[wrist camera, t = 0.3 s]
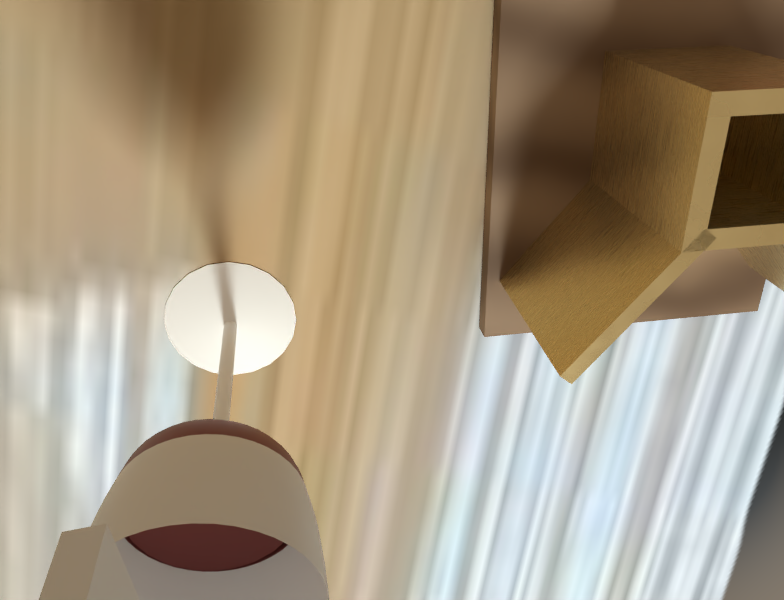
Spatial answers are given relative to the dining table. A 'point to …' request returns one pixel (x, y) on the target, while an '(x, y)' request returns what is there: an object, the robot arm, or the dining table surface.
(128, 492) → the wineglass
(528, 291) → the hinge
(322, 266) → the dining table surface
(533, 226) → the board
